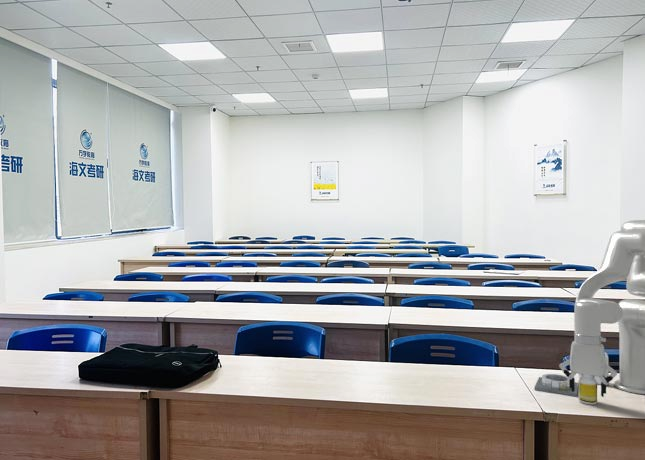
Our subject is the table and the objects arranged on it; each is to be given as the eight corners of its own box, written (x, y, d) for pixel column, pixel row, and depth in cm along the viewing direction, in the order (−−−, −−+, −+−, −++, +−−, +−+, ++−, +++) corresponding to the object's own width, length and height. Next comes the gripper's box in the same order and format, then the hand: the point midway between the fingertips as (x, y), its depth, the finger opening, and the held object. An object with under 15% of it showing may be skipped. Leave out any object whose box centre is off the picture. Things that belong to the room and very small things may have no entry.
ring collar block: (578, 385, 170) (578, 375, 170) (576, 396, 159) (576, 386, 159) (539, 379, 176) (539, 370, 176) (534, 389, 165) (534, 380, 165)
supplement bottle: (599, 405, 151) (599, 375, 151) (581, 404, 152) (581, 374, 152) (593, 399, 156) (593, 370, 156) (576, 398, 157) (575, 369, 157)
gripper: (618, 340, 152) (618, 394, 152) (558, 334, 161) (559, 385, 162) (619, 345, 146) (619, 401, 146) (556, 338, 155) (557, 391, 155)
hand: (587, 392), depth 154 cm, fingers open, 7 cm apart
